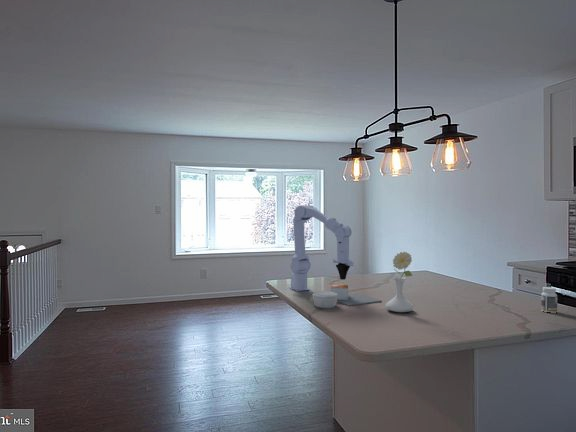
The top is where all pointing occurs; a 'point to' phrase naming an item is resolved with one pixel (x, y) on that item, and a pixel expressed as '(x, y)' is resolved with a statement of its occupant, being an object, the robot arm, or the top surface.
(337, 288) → the small box
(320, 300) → the ramekin
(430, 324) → the top surface
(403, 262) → the flower in vase
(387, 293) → the top surface
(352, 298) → the grey mat
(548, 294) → the pill bottle
